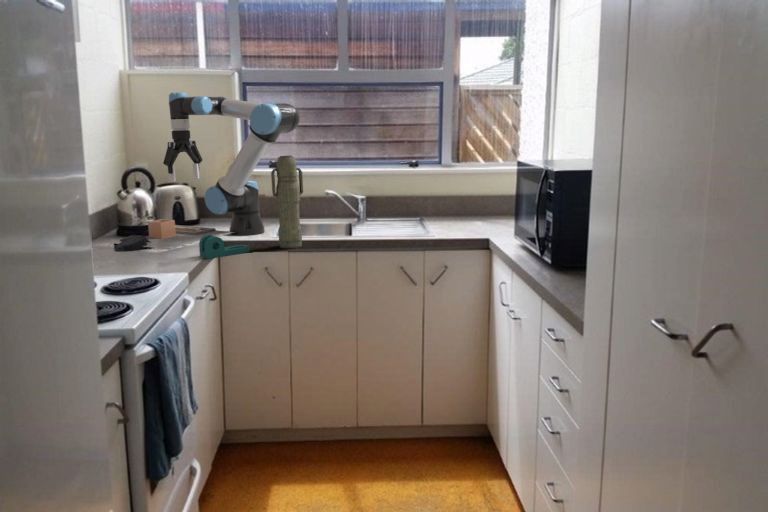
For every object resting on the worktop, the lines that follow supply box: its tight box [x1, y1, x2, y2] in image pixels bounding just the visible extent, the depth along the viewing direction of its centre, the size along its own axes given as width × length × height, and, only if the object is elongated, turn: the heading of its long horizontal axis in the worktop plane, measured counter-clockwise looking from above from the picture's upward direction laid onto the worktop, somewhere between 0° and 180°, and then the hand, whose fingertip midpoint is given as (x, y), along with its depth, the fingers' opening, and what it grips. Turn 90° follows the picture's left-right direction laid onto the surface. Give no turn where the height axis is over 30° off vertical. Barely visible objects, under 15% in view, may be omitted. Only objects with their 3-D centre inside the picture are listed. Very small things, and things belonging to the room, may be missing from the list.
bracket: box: [198, 234, 250, 260], centre depth 257 cm, size 18×7×8 cm, turn 129°
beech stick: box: [175, 226, 201, 232], centre depth 304 cm, size 10×2×17 cm
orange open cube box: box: [147, 218, 177, 239], centre depth 290 cm, size 8×8×8 cm
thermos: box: [270, 155, 304, 249], centre depth 266 cm, size 9×12×35 cm
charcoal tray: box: [175, 224, 216, 236], centre depth 304 cm, size 26×12×2 cm, turn 60°
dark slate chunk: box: [113, 234, 153, 253], centre depth 278 cm, size 15×22×5 cm
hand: (184, 179), depth 298 cm, fingers open, 13 cm apart
